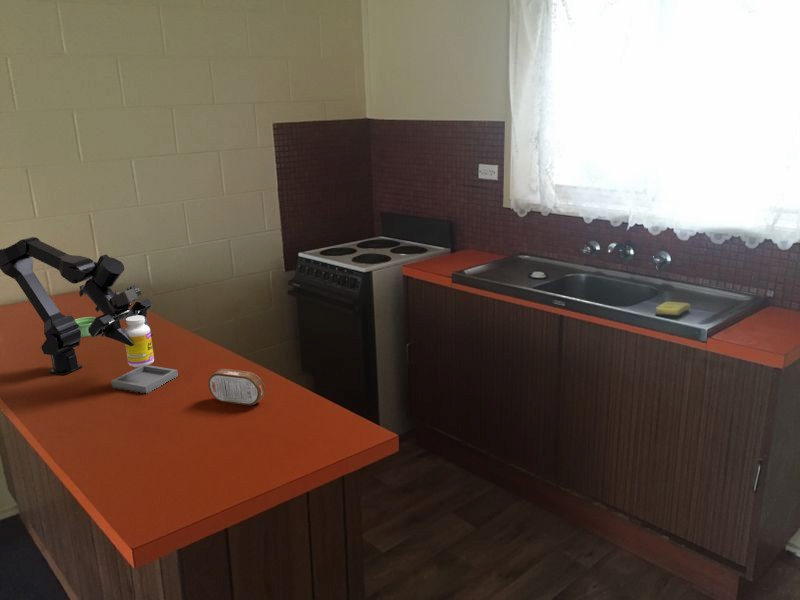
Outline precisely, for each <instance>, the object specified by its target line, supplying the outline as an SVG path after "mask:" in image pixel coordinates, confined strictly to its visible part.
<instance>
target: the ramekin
mask: <svg viewBox="0 0 800 600" xmlns="http://www.w3.org/2000/svg"><path fill="white" fill-rule="evenodd" d="M96 317H97V316H96ZM96 317H94V316H87V317H86V316H85V317H79V318H76V319H75V318H74V320H75V322H76V323H77V324H78V325H79V326H80V327H79V329H80V331H81V338H85V337H87V338H88V337H90V336H91V335H90V333H89V330H88V328H89V326H90V325H91V324H92V322H93V321H94V319H95V318H96ZM91 337H92V336H91Z"/></svg>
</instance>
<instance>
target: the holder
mask: <svg viewBox="0 0 800 600" xmlns="http://www.w3.org/2000/svg"><path fill="white" fill-rule="evenodd" d="M177 376H178V377H179V373H178V369H174V368H168V367H167V368H166V367H161V366H157V365H151V364H150V365H147V366H143V367H135V368H134V369H132V370H131V371H130V370H129V371H128V372H126V373H123V375H120V376H118V377H116V378H114V379H111V380H110V381H111V387H112V389H116V388H117V389H118V390H122V389H123V390H122V391H127V390H130V391H129V392H133V391H134V393H138V392H140V393H139V394H144V393H146V394H145V395H147V393H148V394H150V393H151V392H153V391H155V390H157V389H158V388H160V387H162V386H163V384H164V385H165V383H166V382H168V381H169V382H171V381H173V380H175V379H177V378H178V377H177ZM176 377H177V378H176ZM174 378H175V379H174ZM172 379H173V380H172ZM170 380H171V381H170ZM169 382H168V383H169ZM166 384H167V383H166ZM161 385H162V386H161ZM156 388H157V389H156ZM154 389H155V390H154ZM152 390H153V391H152Z"/></svg>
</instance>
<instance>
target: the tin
mask: <svg viewBox="0 0 800 600" xmlns="http://www.w3.org/2000/svg"><path fill="white" fill-rule="evenodd" d="M207 382H208V383H207V384H208V389H209V392H210V394H211V395H212V396H213V397H214V398H215V399H216V400H217V401H219V402H222V403H230V404H236V405H243V406H254V405H255V404H257V403H258V402H259V401H261V400H263V398H264V396H265V394H266V387H265V384H264V382H263V380H262V379H261V378H260V376H258V375H257V374H256V373H254V372H251V371H244V370H235V369H230V368H219V369H217V370H216V371H214V372H213V374H211V375H210V376H209V378H208V381H207Z"/></svg>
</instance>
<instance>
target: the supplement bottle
mask: <svg viewBox="0 0 800 600" xmlns="http://www.w3.org/2000/svg"><path fill="white" fill-rule="evenodd" d="M144 322H145V318H144V316H141V315H136V316H130V317H128V318H126V319H125V324H126V325H127V326H126V327H125V328H124V329H123V330H124V331H125V333H126V334H127V335H128V336H129V337H130V339H131V340H132V341H133V343H134V344H133V346H129V345H127V344H124V345H125V350H126V351H125V352H126V357H127V364H128V365H129V366H130V367H133V368H138V367H143V366H147V365H150V366H151V364H153V363H154V361H155V356H154V349H153V348H154V347H153V341H152V340H153V339H152V337H151V333H150V329H151V327H150V328H149V327H148V326H147V325H145V324H144Z"/></svg>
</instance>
